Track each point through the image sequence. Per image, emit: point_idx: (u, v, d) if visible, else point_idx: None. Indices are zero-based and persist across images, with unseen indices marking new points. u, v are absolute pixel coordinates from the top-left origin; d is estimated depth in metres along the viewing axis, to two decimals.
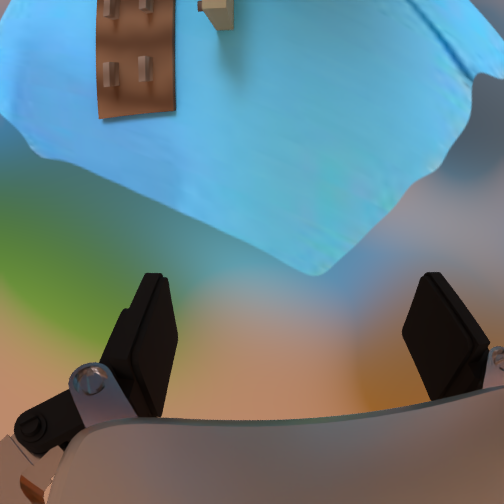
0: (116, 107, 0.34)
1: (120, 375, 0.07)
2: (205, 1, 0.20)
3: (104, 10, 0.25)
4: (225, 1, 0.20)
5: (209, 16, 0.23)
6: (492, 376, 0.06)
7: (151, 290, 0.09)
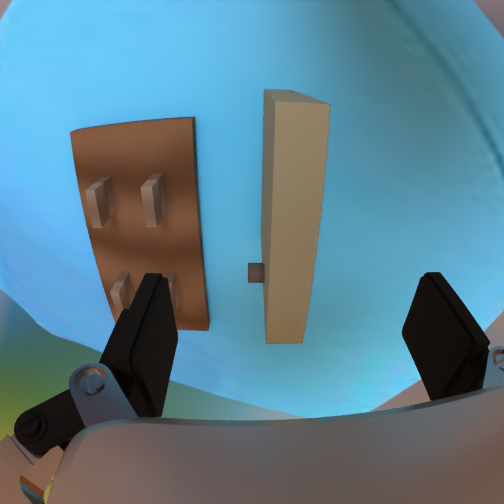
0: None
1: (120, 375, 0.07)
2: (271, 334, 0.16)
3: (92, 218, 0.21)
4: None
5: None
6: (492, 376, 0.06)
7: (151, 290, 0.09)
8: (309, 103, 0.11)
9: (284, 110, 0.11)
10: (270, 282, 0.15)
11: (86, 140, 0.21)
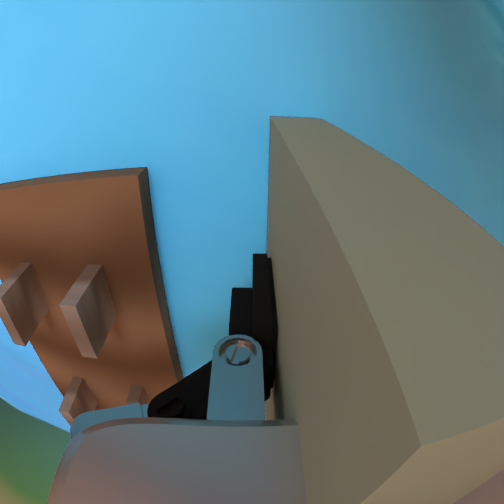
0: None
1: None
2: None
3: (10, 332, 0.12)
4: None
5: None
6: None
7: (266, 268, 0.10)
8: None
9: (446, 458, 0.01)
10: None
11: None
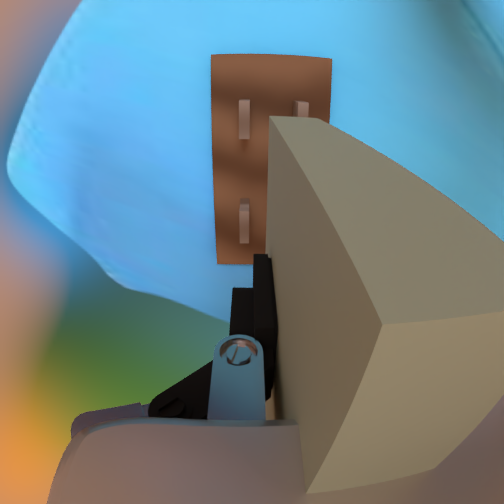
0: (243, 253, 0.32)
1: None
2: None
3: (240, 129, 0.23)
4: None
5: None
6: None
7: (267, 268, 0.10)
8: None
9: (413, 357, 0.02)
10: None
11: (228, 63, 0.23)
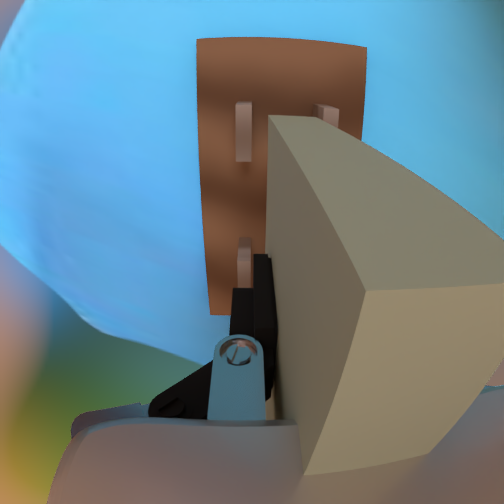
0: None
1: None
2: None
3: (238, 146, 0.16)
4: None
5: None
6: None
7: (267, 268, 0.10)
8: (491, 278, 0.02)
9: (397, 326, 0.02)
10: None
11: (221, 51, 0.16)
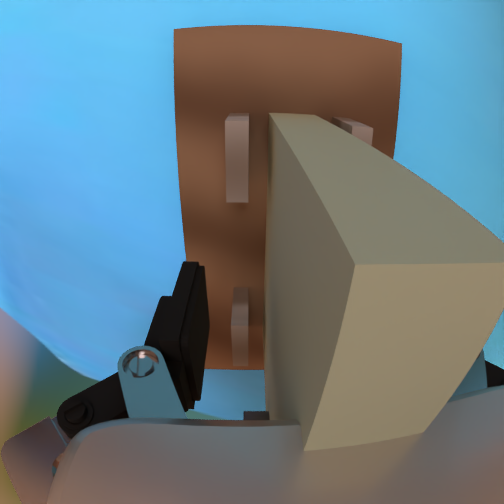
0: None
1: (168, 357, 0.08)
2: None
3: (229, 181, 0.11)
4: None
5: None
6: None
7: (192, 277, 0.10)
8: (470, 259, 0.02)
9: (384, 298, 0.02)
10: None
11: (208, 44, 0.11)
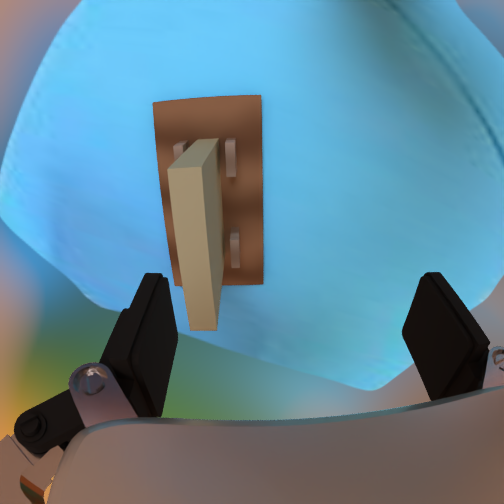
0: None
1: (120, 375, 0.07)
2: (192, 323, 0.23)
3: None
4: (215, 323, 0.23)
5: None
6: (492, 376, 0.06)
7: (151, 290, 0.09)
8: (188, 167, 0.18)
9: (173, 174, 0.18)
10: (183, 284, 0.21)
11: (168, 109, 0.27)
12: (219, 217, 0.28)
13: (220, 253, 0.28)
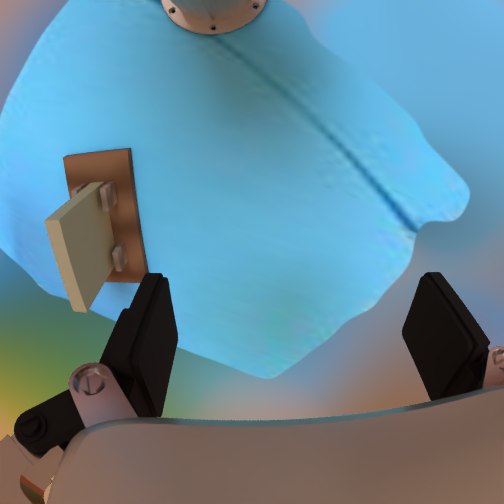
0: None
1: (120, 375, 0.07)
2: (73, 306, 0.33)
3: None
4: (85, 307, 0.34)
5: None
6: (492, 376, 0.06)
7: (151, 290, 0.09)
8: (54, 219, 0.28)
9: (47, 223, 0.28)
10: (63, 283, 0.32)
11: (72, 162, 0.37)
12: (101, 237, 0.38)
13: (102, 262, 0.39)
